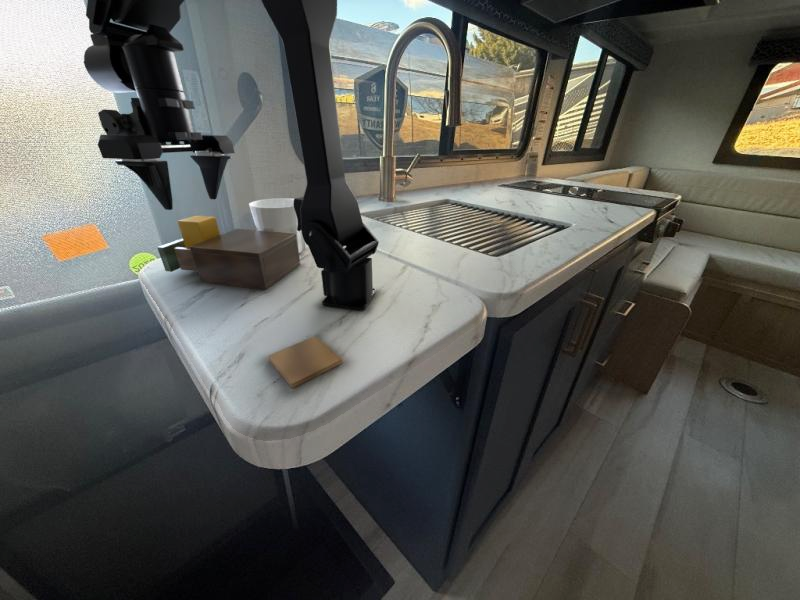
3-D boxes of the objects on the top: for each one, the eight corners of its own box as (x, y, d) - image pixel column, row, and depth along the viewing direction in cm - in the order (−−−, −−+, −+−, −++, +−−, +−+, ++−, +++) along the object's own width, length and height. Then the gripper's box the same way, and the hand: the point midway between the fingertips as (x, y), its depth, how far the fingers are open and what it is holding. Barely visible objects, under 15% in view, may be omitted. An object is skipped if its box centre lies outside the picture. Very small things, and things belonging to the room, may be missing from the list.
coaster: (316, 340, 38) (315, 335, 37) (342, 363, 34) (342, 358, 34) (268, 360, 34) (267, 355, 34) (292, 388, 30) (291, 383, 30)
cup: (273, 242, 71) (265, 197, 66) (316, 245, 70) (310, 199, 65) (249, 257, 62) (238, 206, 58) (296, 260, 61) (289, 209, 56)
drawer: (159, 270, 53) (150, 246, 51) (203, 252, 62) (197, 230, 60) (221, 278, 51) (214, 253, 49) (258, 257, 60) (254, 235, 58)
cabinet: (200, 282, 52) (189, 246, 49) (244, 259, 61) (237, 228, 58) (266, 290, 49) (258, 253, 47) (300, 265, 59) (296, 233, 56)
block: (225, 255, 57) (215, 216, 54) (209, 262, 54) (197, 222, 51) (206, 253, 58) (196, 215, 55) (189, 260, 55) (177, 220, 51)
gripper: (169, 98, 54) (195, 192, 61) (37, 81, 38) (94, 212, 45) (225, 98, 52) (245, 195, 59) (111, 80, 36) (158, 218, 43)
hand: (192, 204), depth 52 cm, fingers open, 9 cm apart
